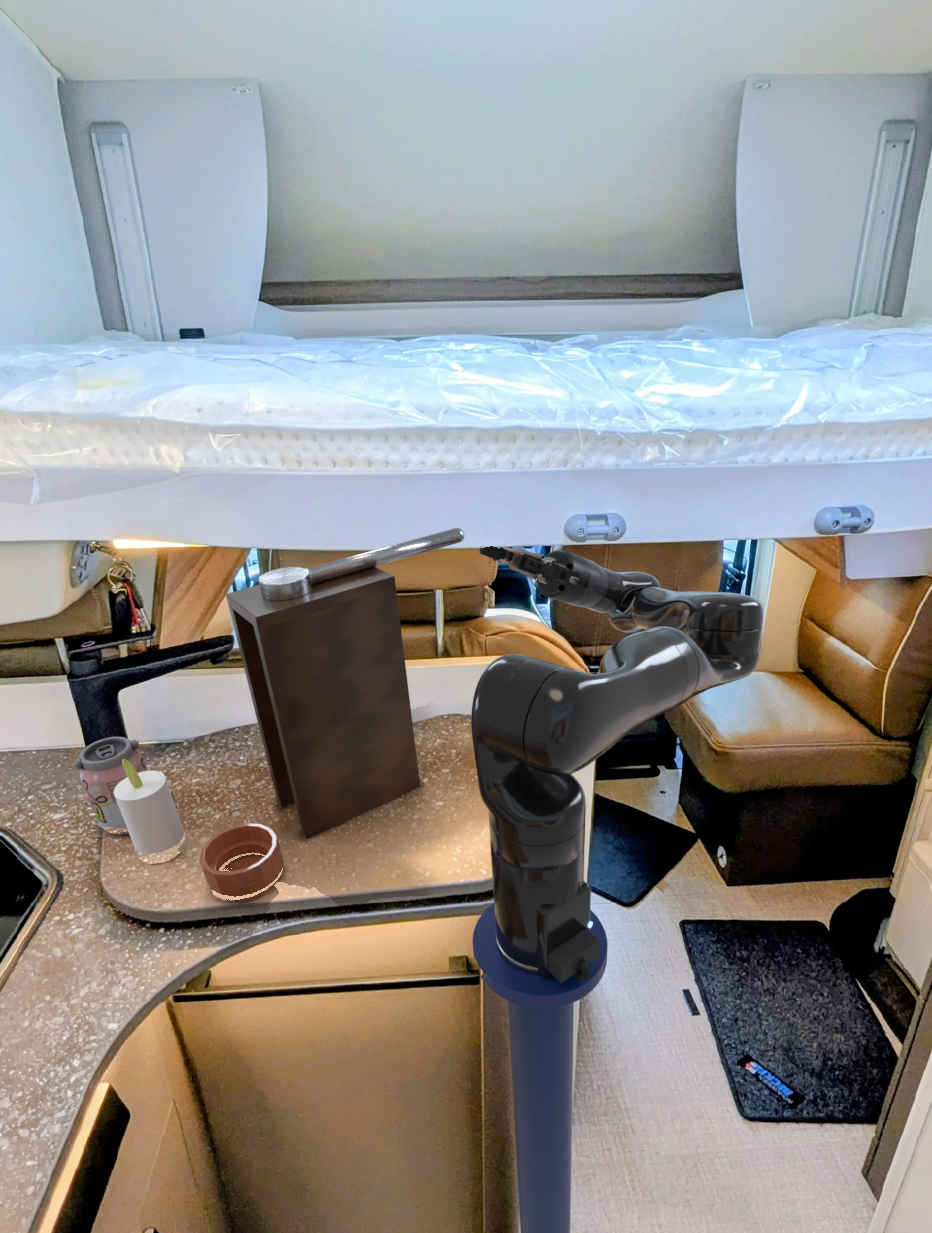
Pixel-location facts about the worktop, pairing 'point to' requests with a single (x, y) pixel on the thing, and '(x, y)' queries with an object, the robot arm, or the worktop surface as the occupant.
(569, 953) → the robot arm
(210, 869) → the bowl
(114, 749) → the beverage can
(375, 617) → the shelf
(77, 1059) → the worktop surface
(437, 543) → the ladle
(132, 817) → the candle
